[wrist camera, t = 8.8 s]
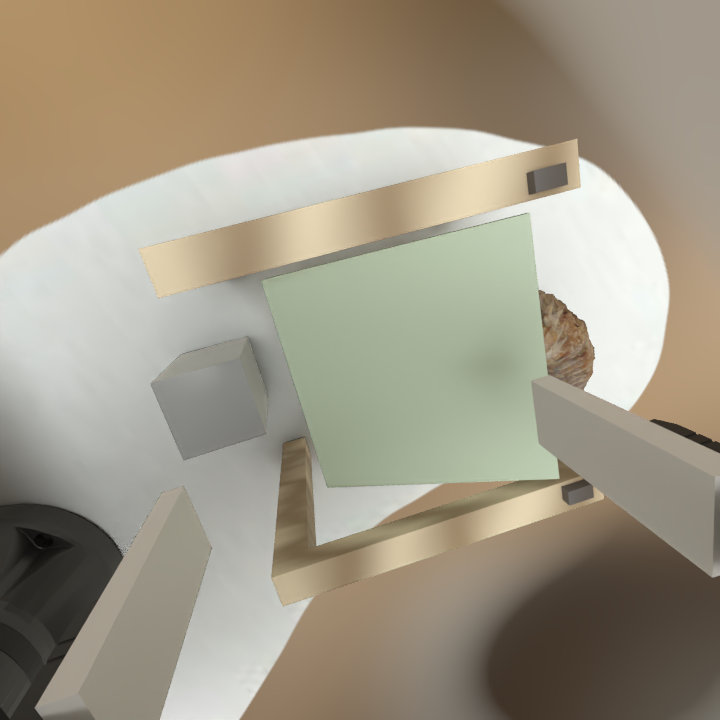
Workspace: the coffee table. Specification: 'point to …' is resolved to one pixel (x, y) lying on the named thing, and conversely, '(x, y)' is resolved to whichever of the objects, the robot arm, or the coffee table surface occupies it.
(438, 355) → the trapdoor
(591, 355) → the seashell
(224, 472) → the coffee table surface
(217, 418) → the grey rectangular block
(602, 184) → the coffee table surface
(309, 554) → the frame
